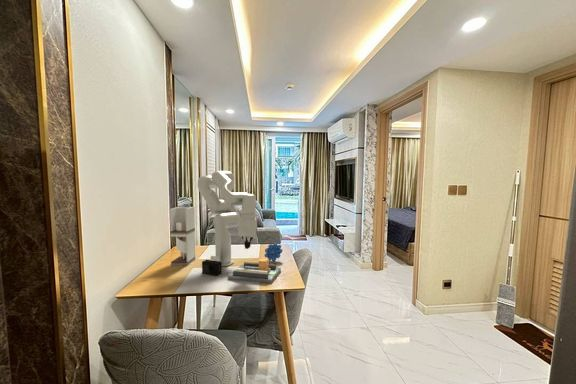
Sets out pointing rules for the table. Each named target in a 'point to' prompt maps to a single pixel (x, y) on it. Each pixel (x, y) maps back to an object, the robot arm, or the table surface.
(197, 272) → the table surface
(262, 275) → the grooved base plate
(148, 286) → the table surface
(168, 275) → the table surface
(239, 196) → the robot arm
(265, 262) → the toggle
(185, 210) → the display case
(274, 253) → the grapes
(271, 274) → the panel
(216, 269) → the digital camera
